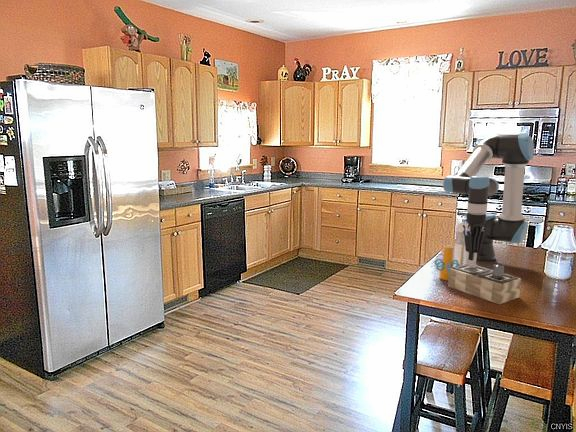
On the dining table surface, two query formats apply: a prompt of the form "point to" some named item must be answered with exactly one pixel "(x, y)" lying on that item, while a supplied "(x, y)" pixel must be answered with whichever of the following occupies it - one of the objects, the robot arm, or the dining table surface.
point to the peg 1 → (471, 269)
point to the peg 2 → (498, 271)
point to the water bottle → (461, 244)
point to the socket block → (484, 284)
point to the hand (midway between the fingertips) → (471, 266)
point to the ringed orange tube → (446, 263)
